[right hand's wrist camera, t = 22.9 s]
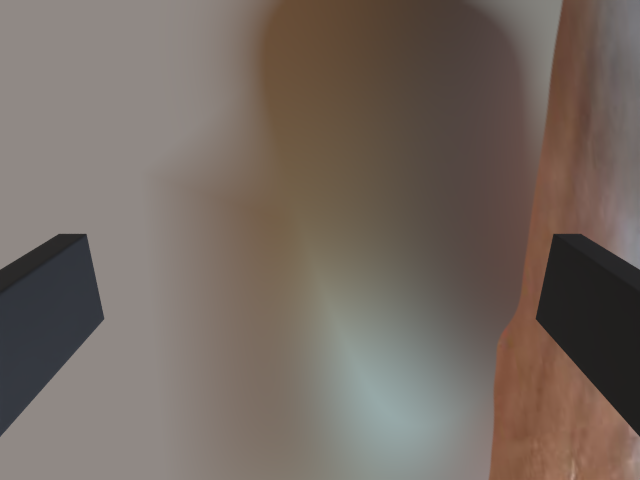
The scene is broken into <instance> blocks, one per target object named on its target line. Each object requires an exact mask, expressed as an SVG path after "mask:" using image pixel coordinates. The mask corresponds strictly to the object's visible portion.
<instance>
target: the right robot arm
mask: <svg viewBox="0 0 640 480" xmlns="http://www.w3.org/2000/svg"><path fill="white" fill-rule="evenodd" d="M103 320H104V316H103V311H102V306H101V301H100V296H99V292H98V287H97V282H96V277H95V272H94V268H93V263H92V258H91V254H90V249H89V244H88V239H87V235H86V234H58V235H57V236H55V237H53V238H52V239H50V240H48V241H47V242H45V243H44V244H42V245H40V246H39V247H37V248H35V249H34V250H32V251H30V252H29V253H27V254H25V255H24V256H22V257H21V258H19V259H17V260H16V261H14V262H12V263H11V264H9V265H7V266H6V267H4V268H2V269H1V270H0V436H1V435H2V434H3V433H4V432H5V431H6V429H7V428H8V427H9V426H10V425H11V424H12V423H13V422H14V420H15V419H16V418H17V417H18V416H19V415H20V414H21V413H22V411H23V410H24V409H25V408H26V407H27V406H28V405H29V404H30V402H31V401H32V400H33V399H34V398H35V397H36V396H37V394H38V393H39V392H40V391H41V390H42V389H43V388H44V387H45V385H46V384H47V383H48V382H49V381H50V380H51V379H52V377H53V376H54V375H55V374H56V373H57V372H58V371H59V370H60V368H61V367H62V366H63V365H64V364H65V363H66V362H67V360H68V359H69V358H70V357H71V356H72V355H73V354H74V353H75V351H76V350H77V349H78V348H79V347H80V346H81V345H82V344H83V342H84V341H85V340H86V339H87V338H88V337H89V336H90V335H91V333H92V332H93V331H94V330H95V329H96V328H97V327H98V325H99V324H100V323H101V322H102V321H103ZM536 320H537V321H538V322H539V323H540V324H541V325H542V327H543V328H544V329H545V330H546V331H547V332H548V333H549V335H550V336H551V337H552V338H553V339H554V340H555V341H556V342H557V344H558V345H559V346H560V347H561V348H562V349H563V350H564V351H565V353H566V354H567V355H568V356H569V357H570V358H571V359H572V361H573V362H574V363H575V364H576V365H577V366H578V367H579V368H580V370H581V371H582V372H583V373H584V374H585V375H586V376H587V378H588V379H589V380H590V381H591V382H592V383H593V384H594V385H595V387H596V388H597V389H598V390H599V391H600V392H601V393H602V394H603V396H604V397H605V398H606V399H607V400H608V401H609V402H610V404H611V405H612V406H613V407H614V408H615V409H616V410H617V411H618V413H619V414H620V415H621V416H622V417H623V418H624V419H625V420H626V422H627V423H628V424H629V425H630V426H631V427H632V428H633V430H634V431H635V432H636V433H637V434H638V435H639V436H640V270H639V269H638V268H636V267H634V266H633V265H631V264H629V263H628V262H626V261H624V260H623V259H621V258H619V257H618V256H616V255H615V254H613V253H611V252H610V251H608V250H606V249H605V248H603V247H601V246H600V245H598V244H597V243H595V242H593V241H592V240H590V239H588V238H587V237H585V236H583V235H582V234H553V239H552V244H551V249H550V253H549V258H548V263H547V268H546V272H545V277H544V282H543V287H542V292H541V296H540V301H539V306H538V311H537V315H536Z"/></svg>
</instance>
